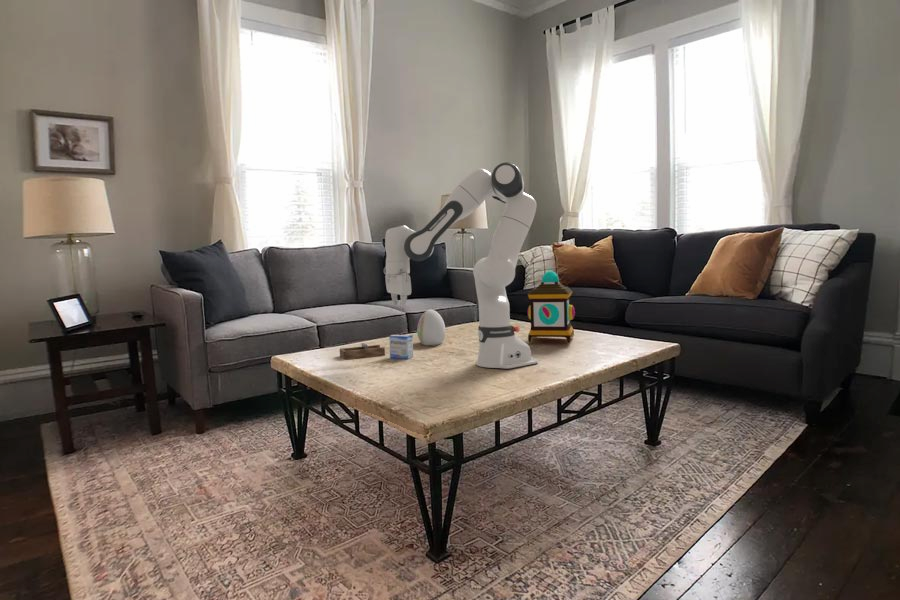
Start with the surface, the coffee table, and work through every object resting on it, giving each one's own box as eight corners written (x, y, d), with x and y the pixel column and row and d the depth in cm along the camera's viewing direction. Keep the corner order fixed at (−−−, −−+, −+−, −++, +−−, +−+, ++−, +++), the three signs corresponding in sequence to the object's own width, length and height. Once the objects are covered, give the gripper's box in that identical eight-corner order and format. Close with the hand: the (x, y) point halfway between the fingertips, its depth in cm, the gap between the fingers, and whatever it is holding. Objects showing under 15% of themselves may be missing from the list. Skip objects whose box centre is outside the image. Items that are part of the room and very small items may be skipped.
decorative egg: (424, 341, 244) (423, 308, 242) (450, 342, 239) (448, 308, 238) (413, 346, 232) (411, 311, 231) (439, 346, 228) (438, 311, 227)
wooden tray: (379, 352, 221) (379, 344, 220) (384, 355, 213) (384, 347, 213) (339, 356, 214) (339, 348, 214) (344, 359, 207) (343, 351, 207)
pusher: (364, 352, 217) (363, 343, 217) (367, 354, 212) (367, 344, 212) (361, 352, 216) (361, 343, 216) (365, 354, 211) (364, 345, 211)
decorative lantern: (577, 337, 241) (576, 268, 238) (573, 344, 222) (572, 270, 219) (531, 336, 247) (530, 270, 244) (524, 343, 228) (522, 272, 226)
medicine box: (389, 358, 206) (388, 335, 205) (395, 356, 210) (394, 334, 209) (408, 359, 203) (407, 336, 202) (413, 357, 207) (412, 334, 206)
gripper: (415, 269, 195) (416, 307, 196) (397, 268, 214) (399, 303, 215) (398, 269, 193) (399, 308, 194) (382, 269, 212) (383, 304, 213)
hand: (399, 306), depth 205 cm, fingers open, 8 cm apart
